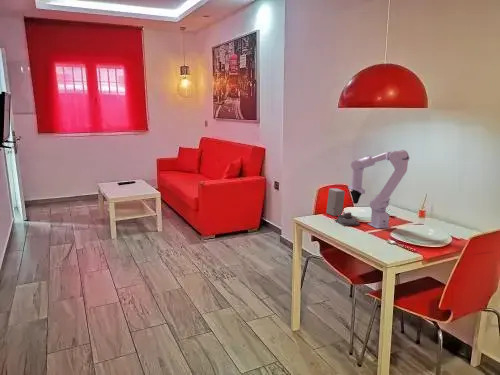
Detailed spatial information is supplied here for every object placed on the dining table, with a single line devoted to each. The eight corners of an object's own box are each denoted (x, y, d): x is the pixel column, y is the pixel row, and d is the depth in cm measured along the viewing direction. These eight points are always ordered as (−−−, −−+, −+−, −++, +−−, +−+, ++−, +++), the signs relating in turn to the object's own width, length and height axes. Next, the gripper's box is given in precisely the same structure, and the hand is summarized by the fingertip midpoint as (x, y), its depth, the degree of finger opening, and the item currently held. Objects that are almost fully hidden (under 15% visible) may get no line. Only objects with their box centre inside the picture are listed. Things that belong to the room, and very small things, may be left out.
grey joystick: (359, 224, 217) (359, 218, 216) (343, 226, 214) (344, 219, 213) (349, 220, 226) (350, 214, 226) (334, 221, 223) (334, 215, 223)
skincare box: (326, 213, 241) (327, 188, 238) (335, 212, 244) (336, 187, 241) (334, 216, 233) (335, 191, 231) (343, 215, 236) (345, 190, 233)
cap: (352, 222, 218) (352, 213, 217) (345, 222, 217) (346, 213, 216) (348, 220, 223) (348, 211, 222) (341, 220, 221) (342, 211, 220)
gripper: (344, 178, 228) (342, 201, 231) (357, 182, 215) (356, 206, 217) (354, 178, 230) (353, 200, 233) (368, 182, 217) (367, 205, 219)
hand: (355, 203), depth 225 cm, fingers closed
